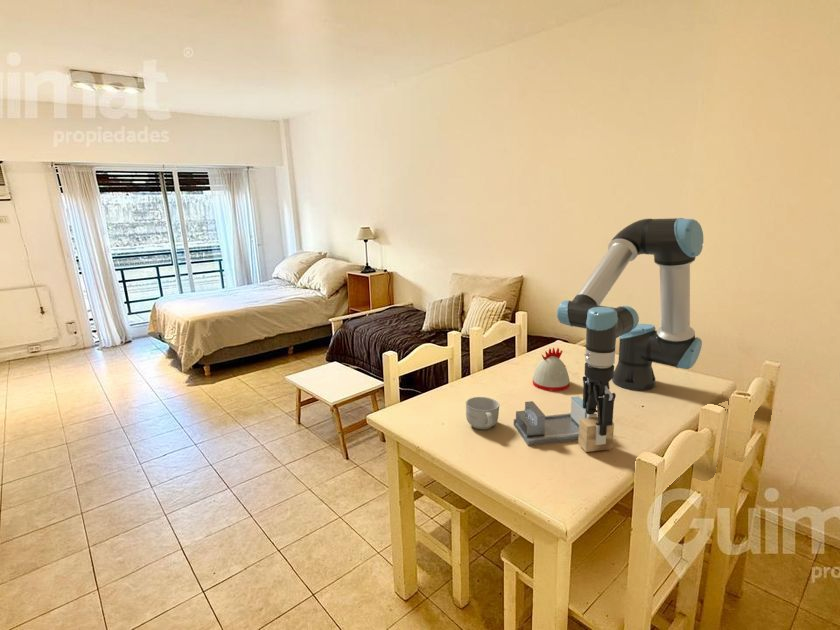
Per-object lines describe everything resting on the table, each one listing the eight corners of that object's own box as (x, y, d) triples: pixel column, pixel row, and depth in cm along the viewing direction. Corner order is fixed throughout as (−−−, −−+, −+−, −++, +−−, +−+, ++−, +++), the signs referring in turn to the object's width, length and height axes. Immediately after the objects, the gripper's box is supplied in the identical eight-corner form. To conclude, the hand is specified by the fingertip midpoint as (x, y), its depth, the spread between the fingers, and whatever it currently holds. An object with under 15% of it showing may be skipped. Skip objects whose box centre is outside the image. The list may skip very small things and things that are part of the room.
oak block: (603, 440, 129) (605, 416, 127) (612, 448, 124) (614, 423, 122) (578, 443, 128) (579, 418, 126) (585, 451, 124) (587, 426, 121)
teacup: (465, 417, 148) (464, 396, 146) (497, 416, 148) (496, 395, 146) (468, 438, 135) (467, 415, 133) (503, 438, 134) (503, 414, 132)
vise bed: (583, 417, 144) (583, 411, 144) (604, 437, 132) (604, 431, 131) (513, 424, 142) (513, 418, 141) (527, 445, 129) (528, 439, 129)
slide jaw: (577, 416, 142) (578, 396, 141) (593, 431, 133) (594, 410, 131) (569, 416, 142) (570, 397, 140) (584, 432, 132) (585, 411, 131)
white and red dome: (575, 389, 166) (577, 352, 163) (541, 393, 165) (542, 355, 161) (559, 376, 180) (560, 341, 176) (527, 379, 178) (528, 344, 174)
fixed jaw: (532, 420, 141) (533, 401, 139) (545, 436, 131) (545, 415, 129) (515, 422, 140) (516, 402, 138) (527, 438, 130) (527, 417, 129)
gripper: (571, 354, 128) (569, 425, 134) (603, 377, 111) (599, 457, 117) (596, 351, 128) (592, 422, 134) (631, 374, 112) (625, 454, 117)
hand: (595, 438), depth 126 cm, fingers closed on oak block, 4 cm apart
